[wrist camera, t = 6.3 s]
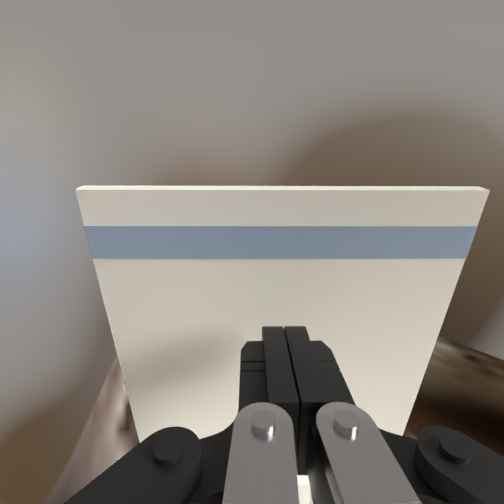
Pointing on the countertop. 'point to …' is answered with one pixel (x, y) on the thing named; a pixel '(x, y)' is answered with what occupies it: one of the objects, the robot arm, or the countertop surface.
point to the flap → (274, 287)
